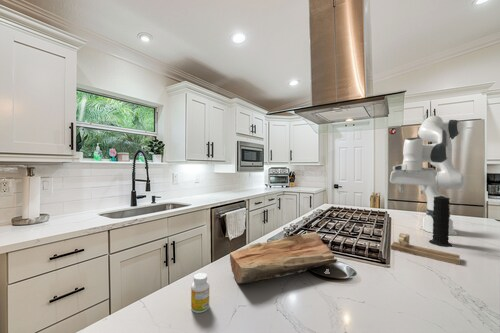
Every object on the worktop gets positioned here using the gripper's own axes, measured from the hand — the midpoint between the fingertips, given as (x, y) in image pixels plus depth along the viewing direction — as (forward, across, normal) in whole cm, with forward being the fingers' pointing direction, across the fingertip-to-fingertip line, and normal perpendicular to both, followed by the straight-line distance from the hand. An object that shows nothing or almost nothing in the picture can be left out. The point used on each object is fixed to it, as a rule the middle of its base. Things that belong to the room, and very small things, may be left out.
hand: (411, 193), depth 123 cm
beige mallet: (+28, +2, +6) cm, 29 cm away
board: (+28, -7, +9) cm, 31 cm away
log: (+31, +32, +72) cm, 84 cm away
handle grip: (+28, -12, -16) cm, 34 cm away
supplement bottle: (+32, +38, +107) cm, 118 cm away
